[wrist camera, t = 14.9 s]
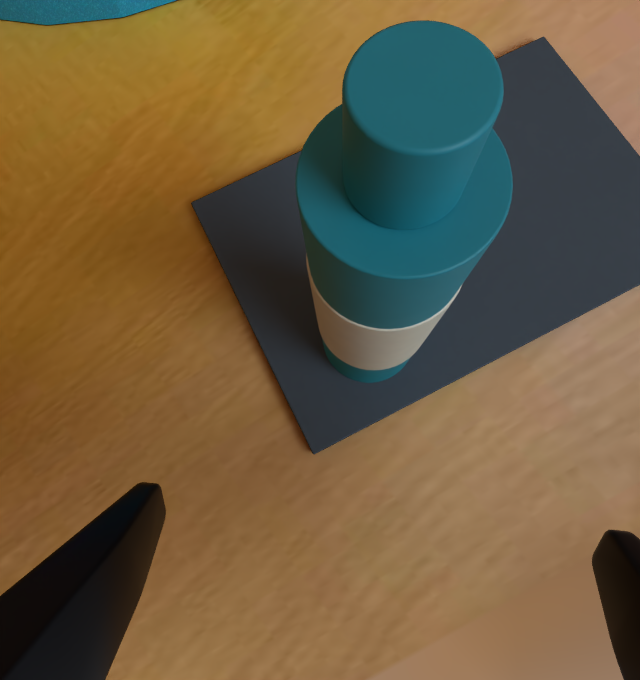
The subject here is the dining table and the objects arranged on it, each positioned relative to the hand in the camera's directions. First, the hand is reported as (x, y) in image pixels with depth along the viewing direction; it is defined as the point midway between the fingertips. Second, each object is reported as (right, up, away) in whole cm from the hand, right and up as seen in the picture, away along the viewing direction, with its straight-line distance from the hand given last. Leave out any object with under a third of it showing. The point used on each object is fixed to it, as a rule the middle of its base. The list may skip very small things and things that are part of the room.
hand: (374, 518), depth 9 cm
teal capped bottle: (+1, +4, +9) cm, 10 cm away
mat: (+4, +8, +10) cm, 14 cm away
